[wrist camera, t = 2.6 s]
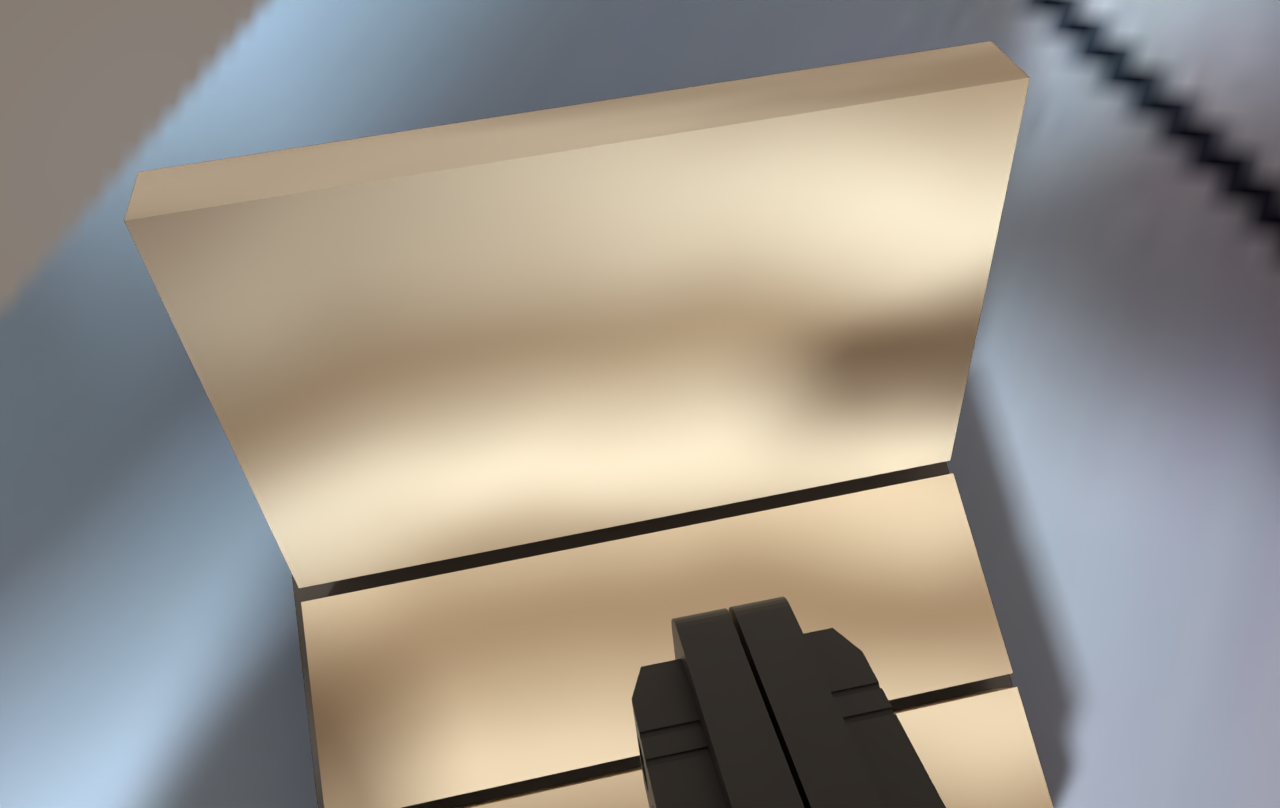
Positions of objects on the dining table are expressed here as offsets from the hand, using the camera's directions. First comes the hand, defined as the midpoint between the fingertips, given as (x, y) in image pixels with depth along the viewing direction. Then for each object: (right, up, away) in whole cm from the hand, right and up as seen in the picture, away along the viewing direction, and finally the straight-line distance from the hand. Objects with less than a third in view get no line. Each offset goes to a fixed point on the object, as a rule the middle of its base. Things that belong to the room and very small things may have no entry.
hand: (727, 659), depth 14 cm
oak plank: (-2, +5, +8) cm, 9 cm away
